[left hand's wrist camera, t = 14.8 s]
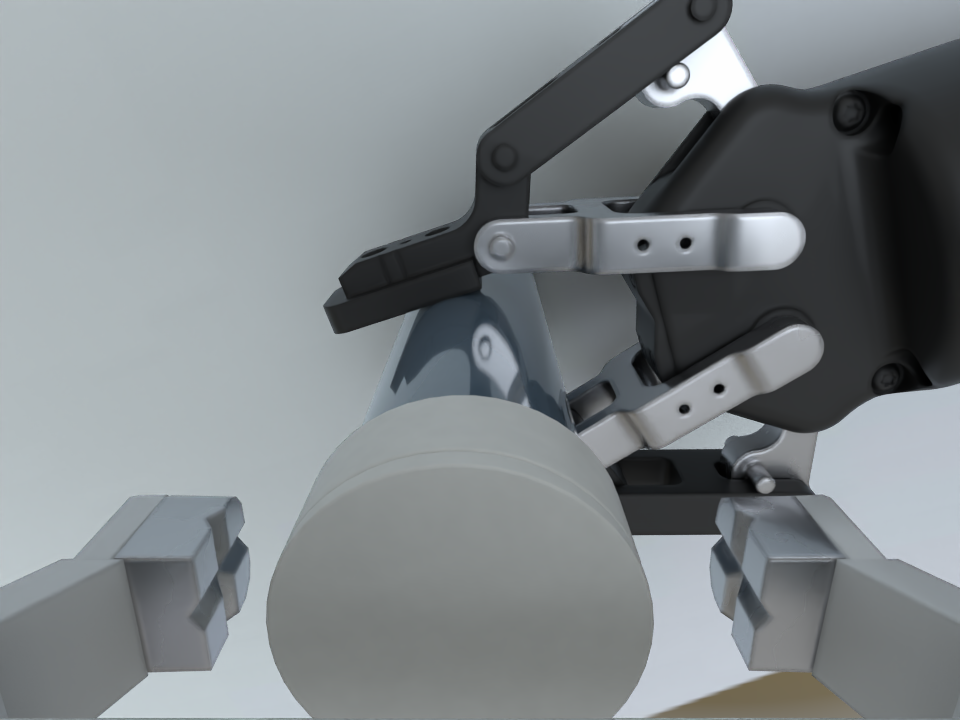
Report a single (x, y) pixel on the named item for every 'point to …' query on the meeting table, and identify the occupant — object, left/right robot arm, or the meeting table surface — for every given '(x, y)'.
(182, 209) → the meeting table surface
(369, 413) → the blue-grey bottle
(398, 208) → the meeting table surface
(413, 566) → the lid
